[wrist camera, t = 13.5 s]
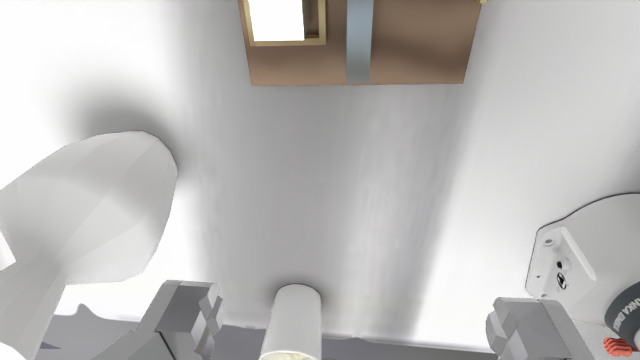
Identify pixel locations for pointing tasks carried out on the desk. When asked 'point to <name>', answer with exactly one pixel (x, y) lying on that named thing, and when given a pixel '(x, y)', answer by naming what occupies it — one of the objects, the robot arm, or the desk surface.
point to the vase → (79, 227)
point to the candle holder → (294, 325)
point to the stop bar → (279, 19)
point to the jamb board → (391, 46)
